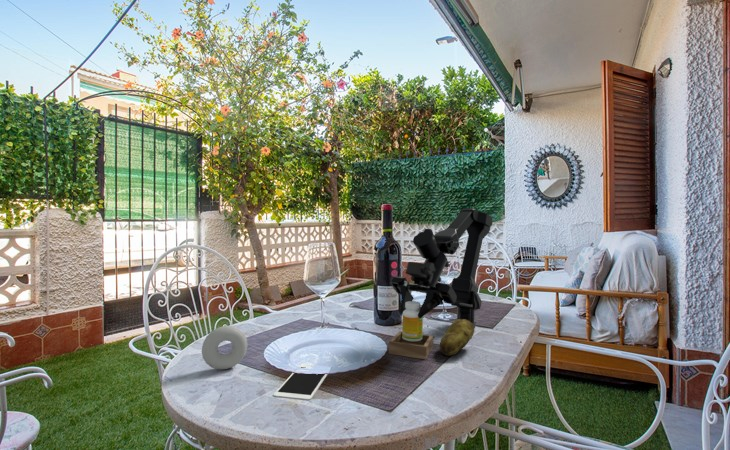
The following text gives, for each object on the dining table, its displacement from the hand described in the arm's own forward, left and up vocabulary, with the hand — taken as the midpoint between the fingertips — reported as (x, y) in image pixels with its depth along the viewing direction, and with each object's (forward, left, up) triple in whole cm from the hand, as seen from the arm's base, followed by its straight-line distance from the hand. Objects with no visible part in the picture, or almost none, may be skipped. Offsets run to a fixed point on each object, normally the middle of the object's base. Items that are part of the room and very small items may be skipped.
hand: (409, 315), depth 98 cm
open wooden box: (-1, 0, -10) cm, 10 cm away
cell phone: (+26, -17, -10) cm, 32 cm away
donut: (+28, -37, -10) cm, 47 cm away
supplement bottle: (-1, 0, -7) cm, 7 cm away
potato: (-5, +11, -10) cm, 16 cm away
